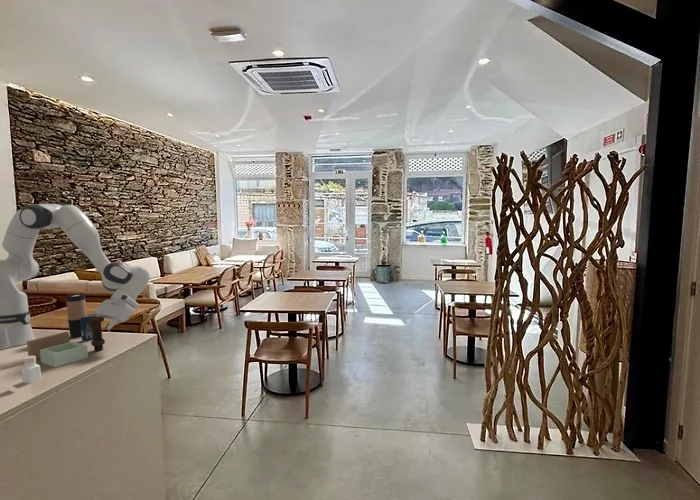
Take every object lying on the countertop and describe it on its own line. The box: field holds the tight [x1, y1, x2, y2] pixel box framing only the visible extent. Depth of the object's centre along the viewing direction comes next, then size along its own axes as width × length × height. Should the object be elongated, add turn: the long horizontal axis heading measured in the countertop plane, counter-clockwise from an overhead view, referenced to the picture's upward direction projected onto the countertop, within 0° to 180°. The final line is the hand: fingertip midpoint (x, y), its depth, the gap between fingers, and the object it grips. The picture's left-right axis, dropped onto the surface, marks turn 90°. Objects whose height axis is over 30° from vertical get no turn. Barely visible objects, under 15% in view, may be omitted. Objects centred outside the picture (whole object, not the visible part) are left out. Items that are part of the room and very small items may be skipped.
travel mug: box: [65, 293, 88, 339], centre depth 195 cm, size 8×8×20 cm
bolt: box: [88, 315, 106, 352], centre depth 169 cm, size 6×5×15 cm
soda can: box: [80, 313, 97, 342], centre depth 187 cm, size 7×7×12 cm
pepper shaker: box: [20, 355, 42, 384], centre depth 139 cm, size 4×4×10 cm
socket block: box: [40, 341, 89, 368], centre depth 159 cm, size 12×12×5 cm
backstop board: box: [26, 331, 71, 361], centre depth 161 cm, size 21×14×9 cm, turn 60°
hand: (101, 327), depth 171 cm, fingers open, 8 cm apart
